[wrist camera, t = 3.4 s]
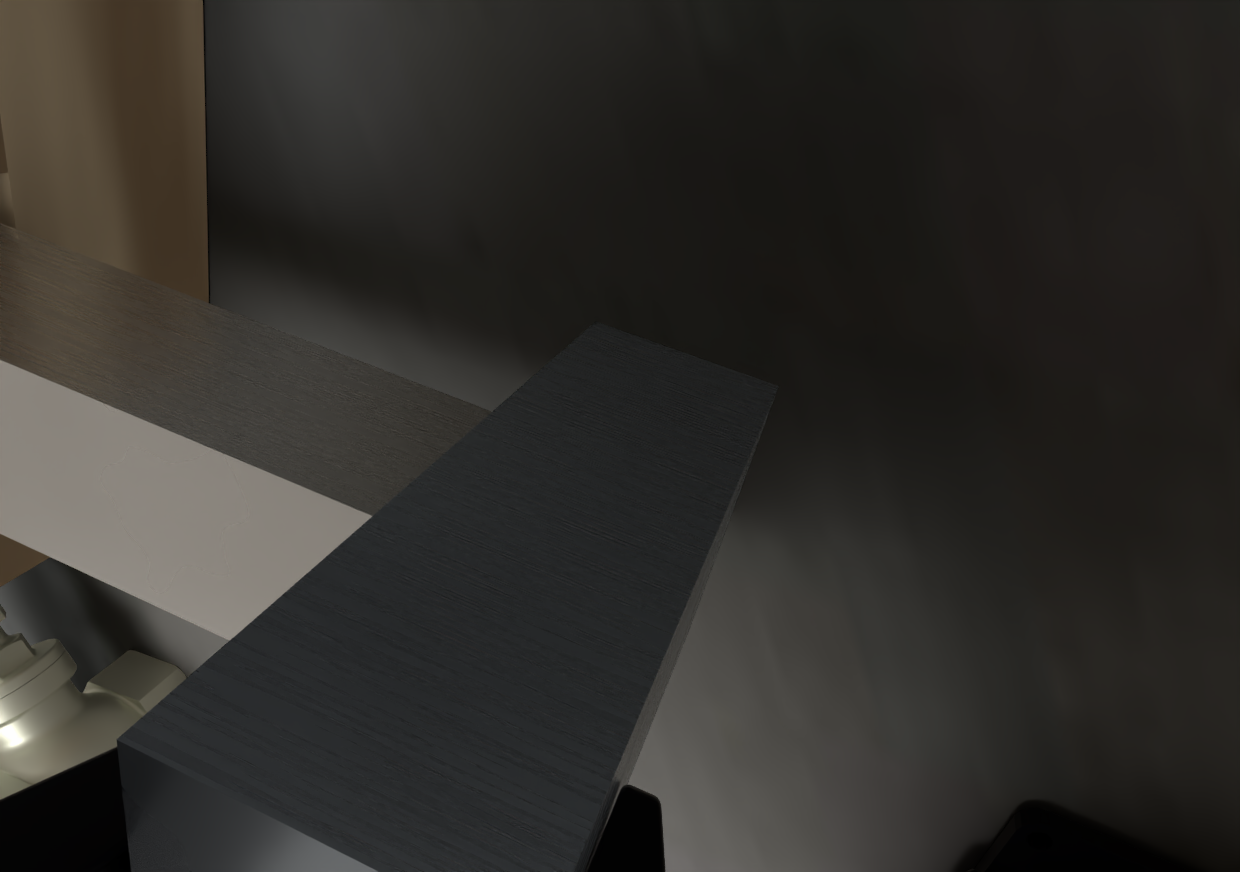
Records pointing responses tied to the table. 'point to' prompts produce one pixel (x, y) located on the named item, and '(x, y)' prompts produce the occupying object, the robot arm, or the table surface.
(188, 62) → the wooden block
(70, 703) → the valve
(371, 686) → the pale grey block
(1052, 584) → the table surface
